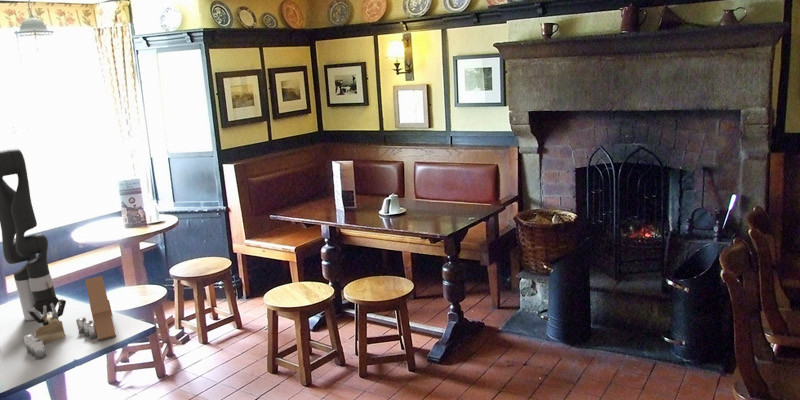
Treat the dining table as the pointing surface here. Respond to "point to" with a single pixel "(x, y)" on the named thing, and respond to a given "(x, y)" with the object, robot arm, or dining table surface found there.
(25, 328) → the dining table surface
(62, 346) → the dining table surface
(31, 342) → the spacers
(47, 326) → the wooden l-bracket
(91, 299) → the tan tall stepped post
